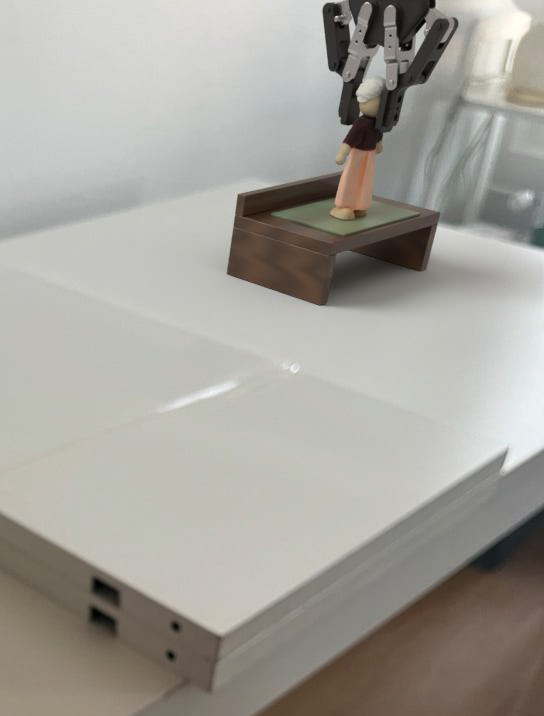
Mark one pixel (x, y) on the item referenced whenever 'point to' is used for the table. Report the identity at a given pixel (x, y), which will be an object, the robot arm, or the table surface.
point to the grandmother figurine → (360, 154)
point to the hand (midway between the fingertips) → (366, 127)
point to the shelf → (320, 236)
